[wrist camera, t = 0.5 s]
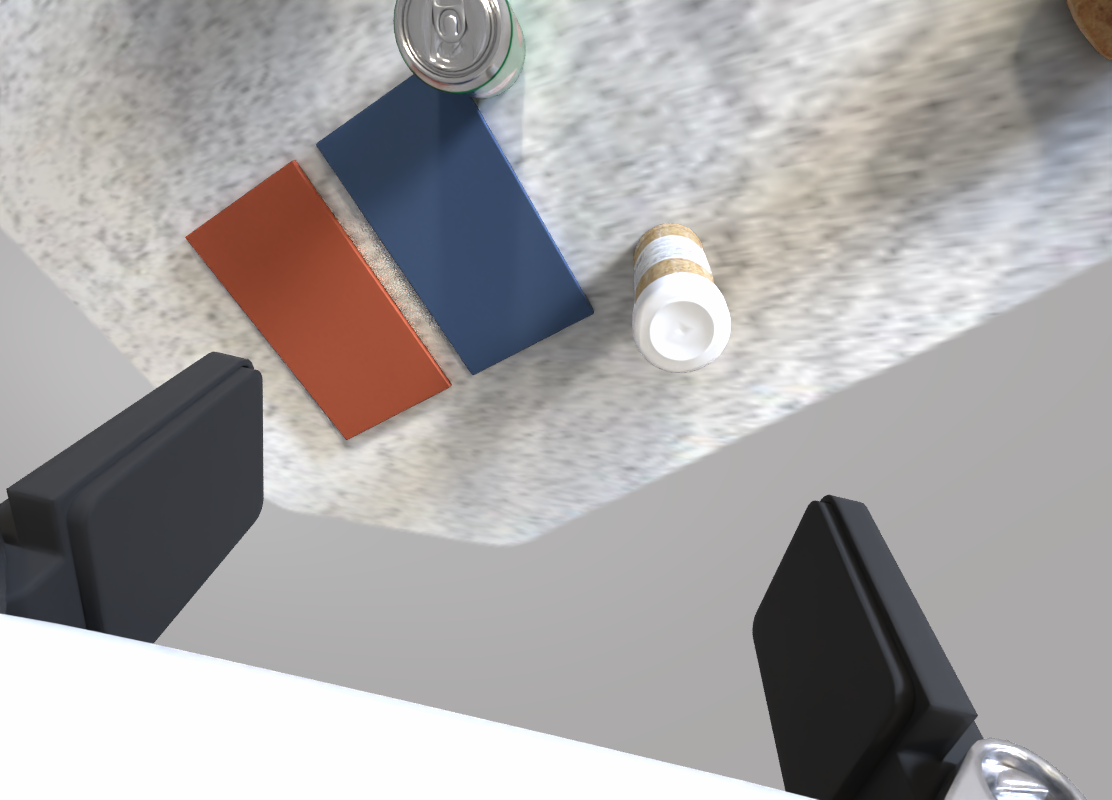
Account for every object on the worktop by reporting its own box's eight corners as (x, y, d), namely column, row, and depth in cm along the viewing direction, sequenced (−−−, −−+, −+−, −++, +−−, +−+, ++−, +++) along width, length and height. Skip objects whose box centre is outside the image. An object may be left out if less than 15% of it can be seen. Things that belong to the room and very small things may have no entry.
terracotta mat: (189, 235, 45) (184, 237, 44) (295, 159, 42) (291, 160, 41) (349, 437, 51) (346, 440, 51) (451, 384, 48) (450, 387, 48)
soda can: (443, 100, 39) (396, 96, 28) (433, 1, 37) (378, -46, 26) (528, 96, 38) (515, 90, 27) (522, -4, 36) (506, -53, 25)
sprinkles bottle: (683, 301, 43) (702, 390, 31) (621, 273, 43) (616, 353, 31) (717, 237, 41) (750, 307, 29) (651, 208, 41) (659, 267, 29)
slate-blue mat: (318, 143, 41) (315, 144, 41) (446, 52, 38) (443, 52, 38) (474, 372, 47) (472, 375, 47) (594, 311, 44) (593, 313, 44)
